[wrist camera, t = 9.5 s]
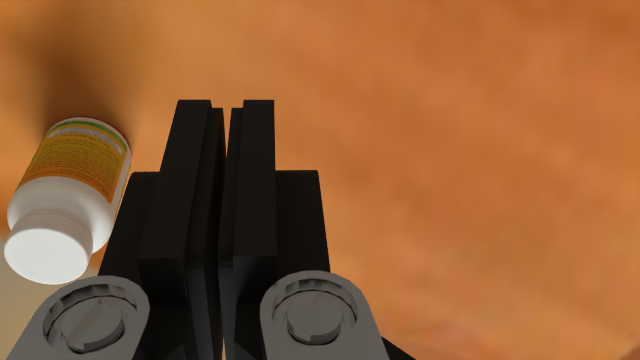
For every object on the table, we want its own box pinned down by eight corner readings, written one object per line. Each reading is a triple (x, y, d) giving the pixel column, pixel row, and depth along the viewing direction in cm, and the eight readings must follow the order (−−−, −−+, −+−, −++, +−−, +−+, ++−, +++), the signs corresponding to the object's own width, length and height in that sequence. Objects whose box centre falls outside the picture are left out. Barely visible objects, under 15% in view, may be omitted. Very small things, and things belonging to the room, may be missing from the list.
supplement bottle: (32, 116, 34) (-30, 220, 27) (123, 112, 35) (88, 213, 27) (56, 187, 38) (6, 298, 30) (139, 182, 38) (112, 291, 30)
